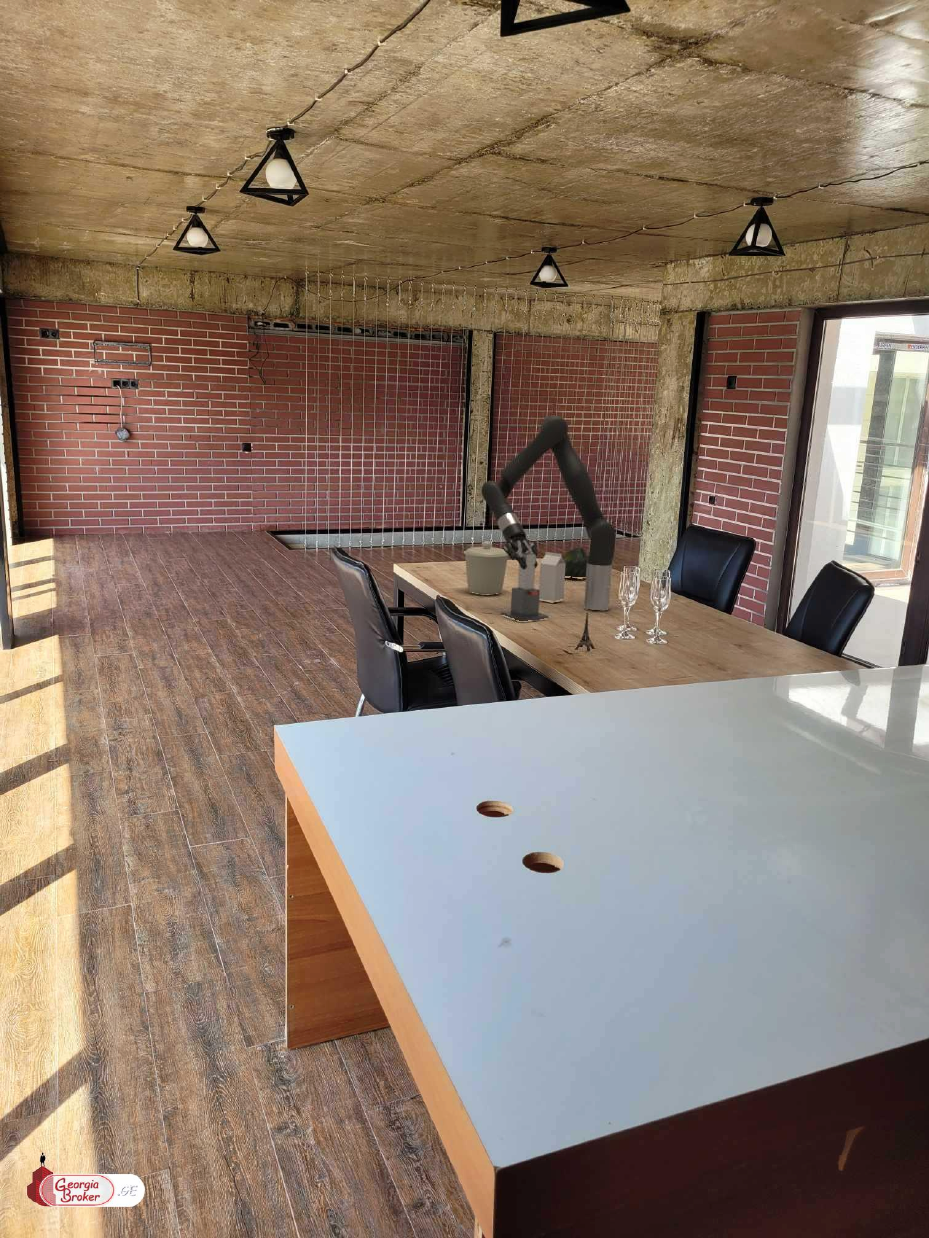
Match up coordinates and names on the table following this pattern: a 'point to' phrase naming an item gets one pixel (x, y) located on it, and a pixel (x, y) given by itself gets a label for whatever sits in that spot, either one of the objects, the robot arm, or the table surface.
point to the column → (527, 572)
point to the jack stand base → (525, 605)
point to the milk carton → (552, 577)
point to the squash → (575, 562)
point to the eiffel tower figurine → (584, 641)
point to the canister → (485, 568)
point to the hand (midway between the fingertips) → (530, 567)
